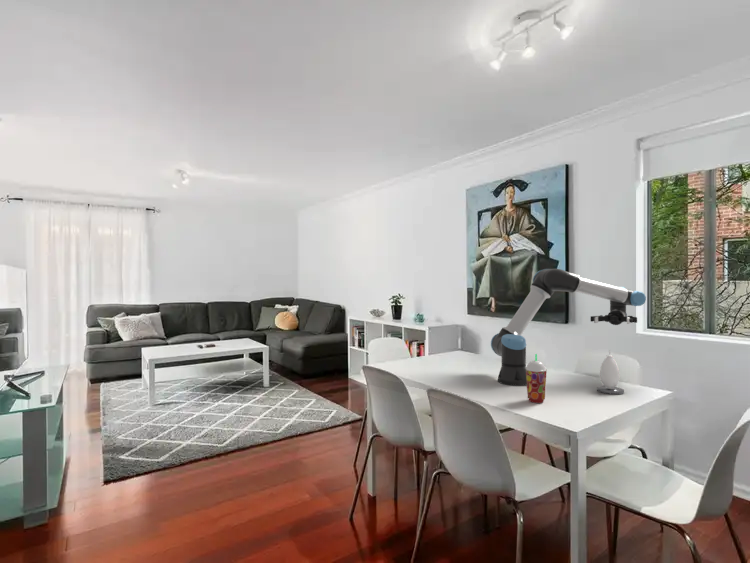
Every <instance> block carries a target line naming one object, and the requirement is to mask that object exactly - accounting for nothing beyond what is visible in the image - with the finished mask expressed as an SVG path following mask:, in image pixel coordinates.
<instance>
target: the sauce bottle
mask: <svg viewBox="0 0 750 563" xmlns="http://www.w3.org/2000/svg"><path fill="white" fill-rule="evenodd" d="M620 376H621V374H620V369H619V366H618V364H617V361H616V360H615V358H614V356H613V355H612V354H611V349H609V351H608V354H607V355H606V357H605V358H604V360H603V361H602V363H601V365H600V370H599V379H600V382H601V384H602V386H605V387H606V388H607V389H613V388H614V387H617V386H618V384H619V382H620V378H621V377H620Z"/></svg>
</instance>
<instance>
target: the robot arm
mask: <svg viewBox="0 0 750 563" xmlns="http://www.w3.org/2000/svg"><path fill="white" fill-rule="evenodd" d="M555 292H567V293H571V294H573V293H580V294H585V295H588V296H592V297H595V298H601V299H604V300H609V306H610V307H609V312H608V314H605V315H602V314H601V315H592V316H590V322H592V323H594V324H598V323H599V322H606V323H610V324H611V325H613V326H618V325H621V324H622V323H626V325H629V324H631V323H632V324H633V323H634V324H635V323H638V317H637V316H634V315H628V314H627V306H633V307H640V306H644V304H646V301H647V296H646V295H645V293H644V292H642V291H640V290H631V289H629V288H628V289H627V288H626V287H625V286H616V285H612V284H609V283H604V282H600V281H598V280H592V279H588V278H585V277H580V275H579V274H578V273H574V272H571V271H566V270H564V269H560V268H544V269H540V270H539V271H537V272H536V273H534V275H533V278H532V283H531V285H530V292H529V293H528V295H527V296H526V297H525V299H524V300H523V302H522V303H521V305H520V307H519V308H518V310H516V312H515V314H514V315H513V317H512V318H511V319H510V321H509V322H508V324H507V325H506V326H504V327H502V328H501V329H500V331H499V332H498V333H497V334H496V333H495V335H493V336H492V338H491V341H490V347H491V350H492V352H493V353H495V354H496V355H497V356H499V357H501V367H500V370H499V373H498V376H497V382H498V383H500V384H503V385H507V386H516V387H517V386H518V387H521V386H527V380H526V367H527V340H526V338H525V336H523V334H524V332H525V331H526V329H527V327H528V326H529V325H530V324H531V321H532V320H533V319H534V317H535V316H536V314H537V313H538V311H539V309H540V308H541V306H542V305H543V303H544V302H545V301H546V299H550V298H551V297H552V296H553V294H554V293H555Z"/></svg>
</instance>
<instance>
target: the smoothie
mask: <svg viewBox="0 0 750 563" xmlns="http://www.w3.org/2000/svg"><path fill="white" fill-rule="evenodd" d="M534 355H535V357H534V360H532V361H529V363H528V364H526V380H527V385H526V390H527V391H526V394H527V399H528V401H529V402H531V403H534V404H542V403H543V402H544V400H546V387H547V385H546V382H547V368H546V366H545V364H544V363H543V362H541V361H540V360H538V355H537V353H536V354H534Z"/></svg>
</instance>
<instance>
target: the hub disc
mask: <svg viewBox="0 0 750 563" xmlns="http://www.w3.org/2000/svg"><path fill="white" fill-rule="evenodd" d="M596 391H597V392H599V393H600V394H601V393H602V394H606V395H617V396H618V395H624V394H625V390H624V389H623V388H622V387H617V386H616V387H614V388H613V389H607V388H606V387H605V386H604V385H598V386H596Z"/></svg>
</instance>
